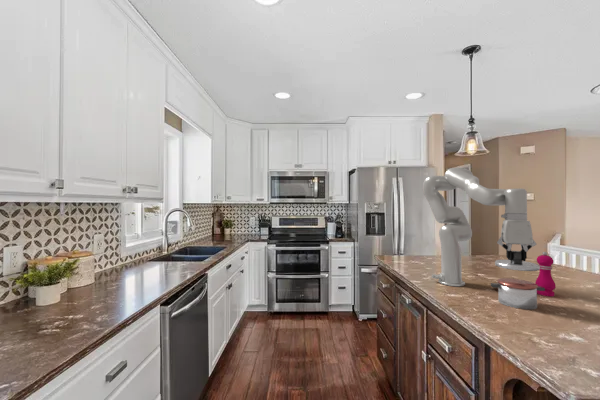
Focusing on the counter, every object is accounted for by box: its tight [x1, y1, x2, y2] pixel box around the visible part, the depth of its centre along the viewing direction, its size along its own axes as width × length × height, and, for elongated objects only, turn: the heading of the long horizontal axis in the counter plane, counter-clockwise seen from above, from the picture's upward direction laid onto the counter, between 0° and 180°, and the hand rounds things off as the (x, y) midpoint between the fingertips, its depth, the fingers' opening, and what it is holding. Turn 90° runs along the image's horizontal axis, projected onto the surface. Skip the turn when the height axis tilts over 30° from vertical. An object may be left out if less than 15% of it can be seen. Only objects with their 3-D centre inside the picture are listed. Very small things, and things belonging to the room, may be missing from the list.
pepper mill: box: [534, 251, 556, 298], centre depth 131 cm, size 7×7×20 cm
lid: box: [494, 250, 540, 272], centre depth 120 cm, size 15×15×6 cm
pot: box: [490, 277, 545, 310], centre depth 120 cm, size 19×14×9 cm
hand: (516, 259), depth 120 cm, fingers closed on lid, 4 cm apart
